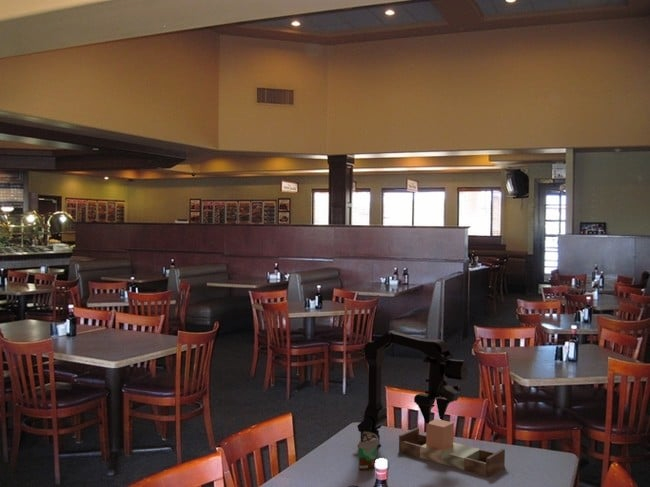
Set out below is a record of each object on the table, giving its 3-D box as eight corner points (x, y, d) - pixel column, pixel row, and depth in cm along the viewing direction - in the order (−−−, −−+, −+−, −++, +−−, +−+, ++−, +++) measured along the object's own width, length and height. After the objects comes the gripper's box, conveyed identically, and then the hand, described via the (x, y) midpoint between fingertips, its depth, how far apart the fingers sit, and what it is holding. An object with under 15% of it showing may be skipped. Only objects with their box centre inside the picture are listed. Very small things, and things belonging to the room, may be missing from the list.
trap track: (398, 451, 235) (399, 435, 235) (416, 443, 244) (416, 427, 244) (488, 476, 212) (489, 458, 212) (504, 466, 221) (504, 449, 221)
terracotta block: (426, 445, 230) (426, 423, 230) (436, 440, 235) (436, 418, 235) (443, 449, 226) (443, 427, 225) (453, 444, 231) (453, 422, 231)
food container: (376, 473, 214) (377, 443, 213) (358, 471, 215) (358, 442, 215) (380, 460, 226) (381, 432, 226) (363, 459, 227) (363, 431, 227)
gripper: (442, 383, 212) (440, 430, 211) (470, 377, 226) (468, 421, 225) (414, 377, 219) (412, 423, 219) (442, 372, 233) (440, 415, 233)
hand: (434, 421), depth 224 cm, fingers open, 9 cm apart
